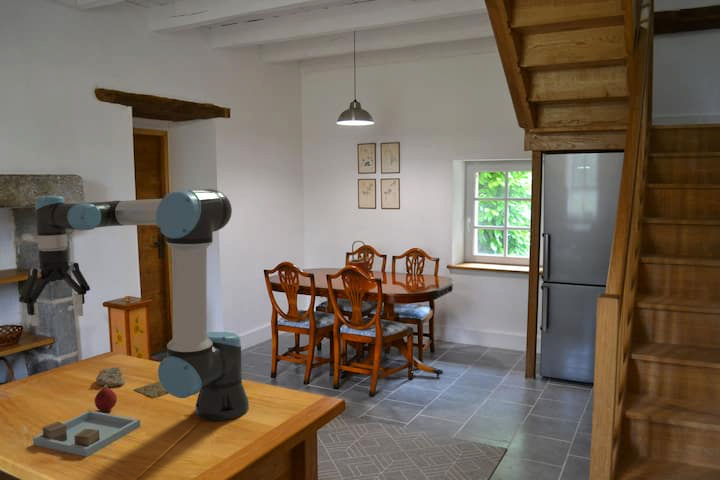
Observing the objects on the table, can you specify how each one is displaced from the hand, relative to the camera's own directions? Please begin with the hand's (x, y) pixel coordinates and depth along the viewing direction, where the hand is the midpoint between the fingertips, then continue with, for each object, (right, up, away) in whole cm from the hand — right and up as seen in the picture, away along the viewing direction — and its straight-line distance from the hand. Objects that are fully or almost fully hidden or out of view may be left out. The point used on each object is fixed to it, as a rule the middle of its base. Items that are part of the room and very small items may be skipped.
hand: (58, 320), depth 169 cm
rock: (+7, -24, +21) cm, 33 cm away
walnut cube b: (+11, -28, -22) cm, 37 cm away
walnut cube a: (+21, -28, -26) cm, 44 cm away
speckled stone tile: (+24, -25, +16) cm, 38 cm away
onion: (+15, -27, -3) cm, 31 cm away
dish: (+18, -28, -18) cm, 38 cm away
